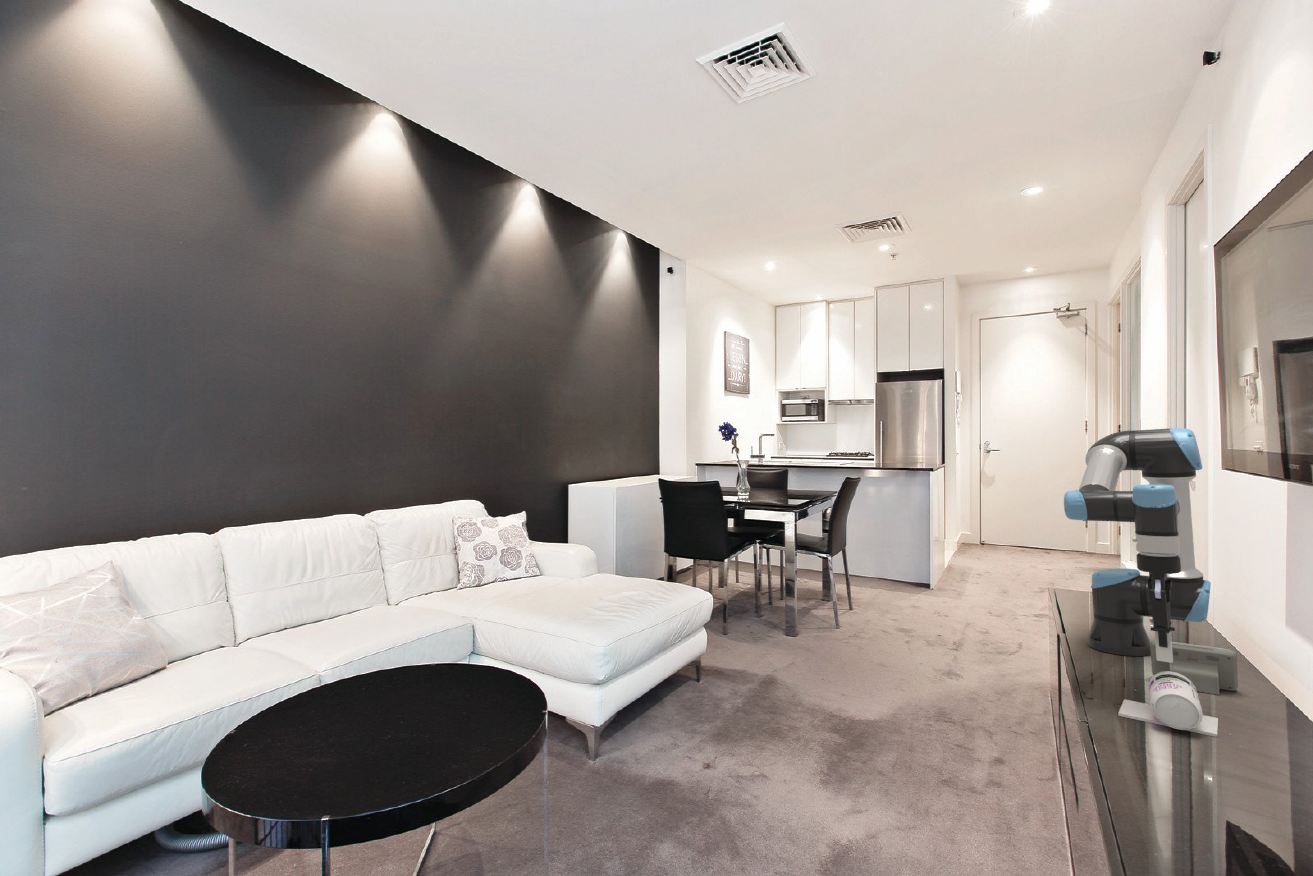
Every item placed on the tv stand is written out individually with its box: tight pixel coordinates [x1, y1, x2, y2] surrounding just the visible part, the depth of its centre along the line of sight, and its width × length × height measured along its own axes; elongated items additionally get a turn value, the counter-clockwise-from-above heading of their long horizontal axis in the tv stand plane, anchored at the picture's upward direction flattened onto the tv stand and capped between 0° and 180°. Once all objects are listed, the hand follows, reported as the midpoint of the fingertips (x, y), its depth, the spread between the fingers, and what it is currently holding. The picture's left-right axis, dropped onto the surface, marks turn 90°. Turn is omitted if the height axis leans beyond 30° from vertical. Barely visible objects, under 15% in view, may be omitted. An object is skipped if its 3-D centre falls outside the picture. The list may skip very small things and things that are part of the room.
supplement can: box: [1148, 671, 1204, 731], centre depth 128 cm, size 8×8×15 cm
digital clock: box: [1150, 639, 1239, 696], centre depth 147 cm, size 16×9×11 cm, turn 38°
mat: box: [1117, 698, 1219, 738], centre depth 130 cm, size 10×16×1 cm, turn 46°
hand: (1164, 660), depth 132 cm, fingers closed
